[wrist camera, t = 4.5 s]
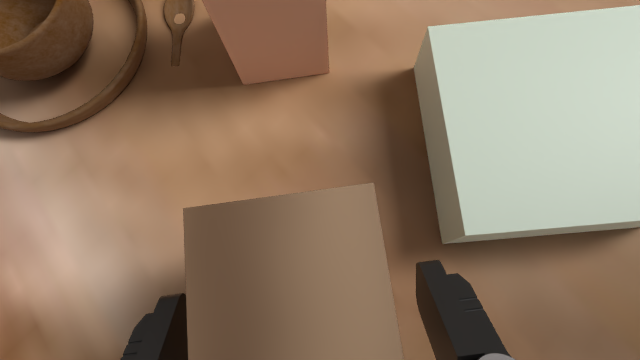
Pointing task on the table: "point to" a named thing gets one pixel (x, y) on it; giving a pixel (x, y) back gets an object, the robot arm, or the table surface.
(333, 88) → the table surface
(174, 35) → the place setting
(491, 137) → the sage base block
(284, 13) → the terracotta pillar
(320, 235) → the walnut pillar
